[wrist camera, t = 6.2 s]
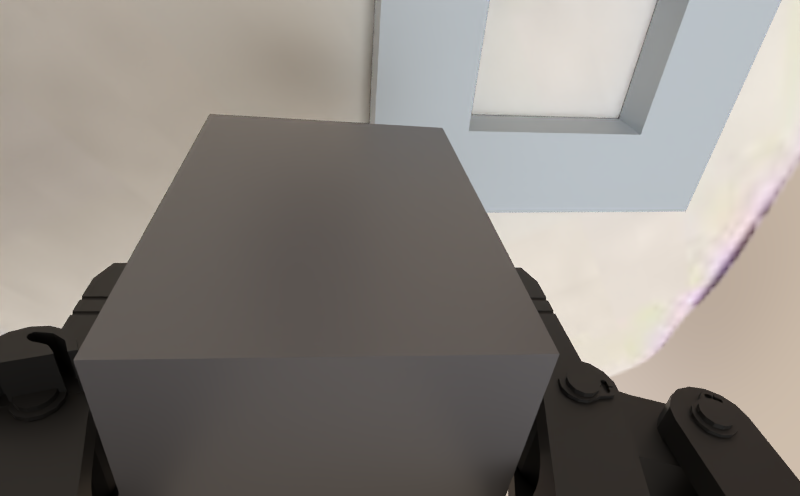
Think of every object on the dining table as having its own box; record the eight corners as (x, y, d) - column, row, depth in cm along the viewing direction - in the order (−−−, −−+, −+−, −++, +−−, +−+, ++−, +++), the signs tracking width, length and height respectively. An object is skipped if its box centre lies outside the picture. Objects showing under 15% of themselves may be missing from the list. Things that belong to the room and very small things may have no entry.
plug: (239, 293, 15) (165, 626, 8) (221, 92, 12) (73, 359, 5) (405, 294, 16) (465, 599, 9) (431, 105, 13) (559, 354, 6)
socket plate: (366, 192, 31) (370, 213, 29) (384, -197, 21) (392, -207, 19) (663, 192, 34) (685, 211, 32) (803, -145, 24) (848, -148, 22)
